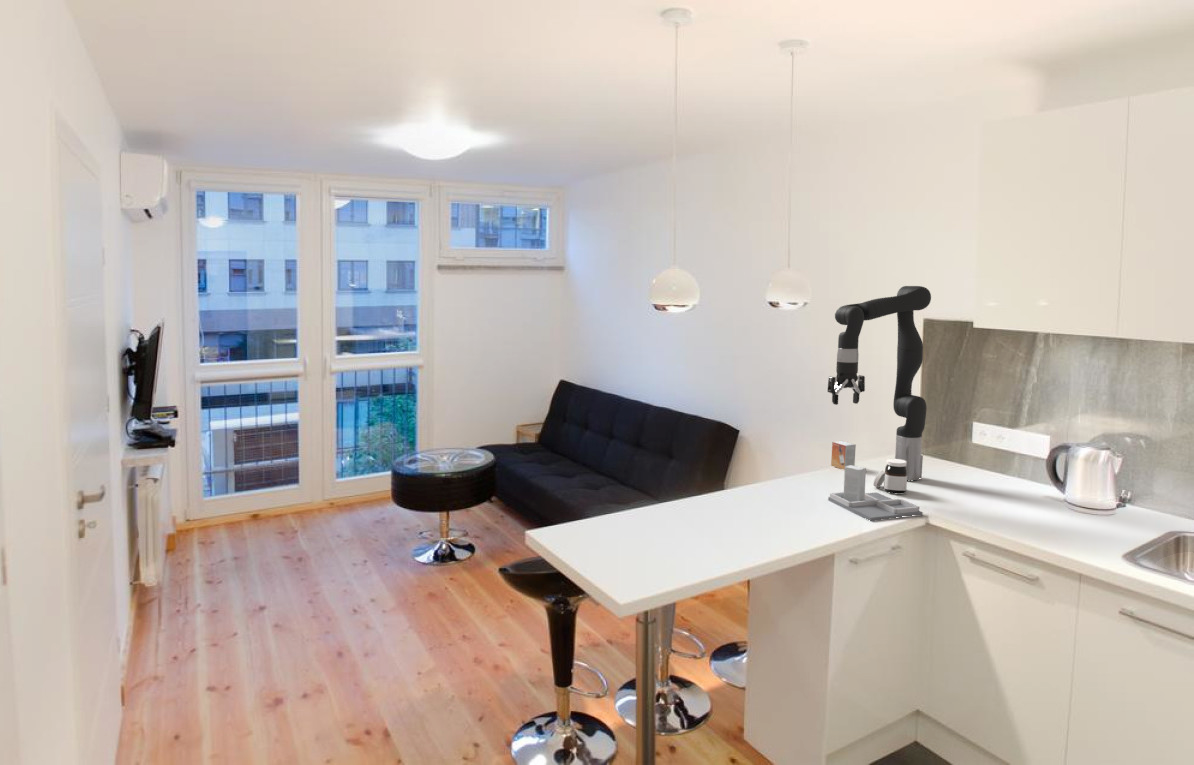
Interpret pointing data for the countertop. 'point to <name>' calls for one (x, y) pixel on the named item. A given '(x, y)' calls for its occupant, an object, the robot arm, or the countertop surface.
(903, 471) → the spread jar
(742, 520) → the countertop surface
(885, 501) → the compartment tray
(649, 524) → the countertop surface
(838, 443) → the small box
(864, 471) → the skincare box
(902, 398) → the robot arm
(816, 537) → the countertop surface
